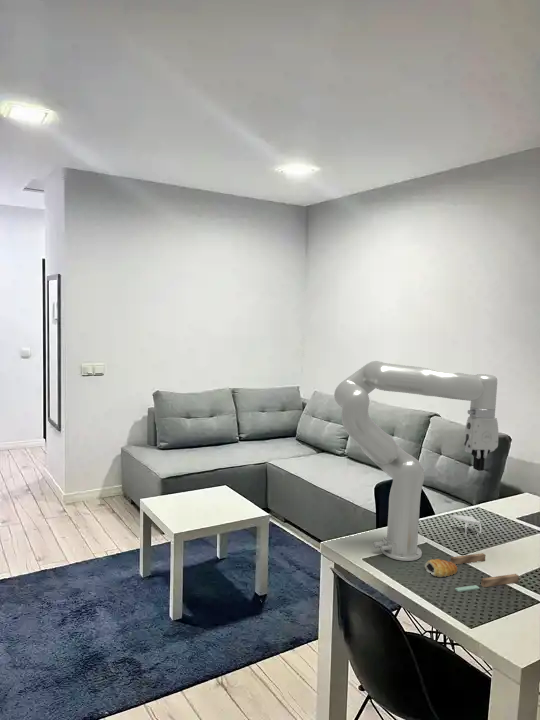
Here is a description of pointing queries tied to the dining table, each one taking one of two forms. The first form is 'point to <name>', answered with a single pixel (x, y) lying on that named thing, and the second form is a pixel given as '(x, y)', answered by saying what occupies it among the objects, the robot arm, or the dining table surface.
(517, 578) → the chute
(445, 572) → the pastry
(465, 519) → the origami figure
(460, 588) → the strips
